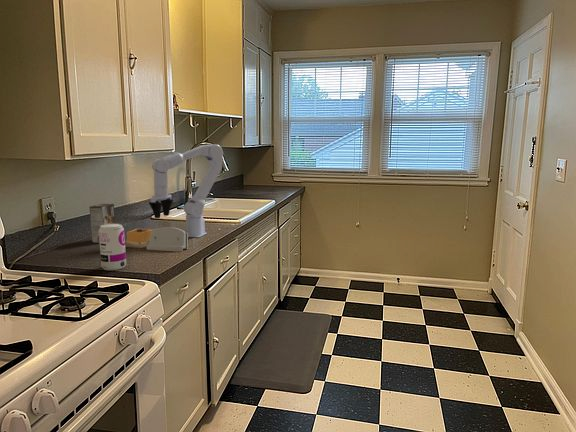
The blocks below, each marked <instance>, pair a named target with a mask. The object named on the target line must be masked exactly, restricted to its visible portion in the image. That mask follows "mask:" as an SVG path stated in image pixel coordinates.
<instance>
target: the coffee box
mask: <svg viewBox="0 0 576 432" xmlns="http://www.w3.org/2000/svg"><path fill="white" fill-rule="evenodd" d="M115 212H116V211H115V203H99V204H95V205H91V206H89V216H90V227H91V239H92V243H98V244H100V242H99V229H100V226H101V225H105V224H116V215H115Z"/></svg>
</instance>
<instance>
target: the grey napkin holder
mask: <svg viewBox="0 0 576 432" xmlns="http://www.w3.org/2000/svg"><path fill="white" fill-rule="evenodd" d="M153 229H154V230H152V232H151V236H150V239H149V243H148V245H147V246H146V247H145V248H146V250H147V251H165V252H166V251H167V252H181V253H183V250H189V237H188V233H187V232H186V230H183V229H180V228H177V227H172V226H162V227H157V228H153Z"/></svg>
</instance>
